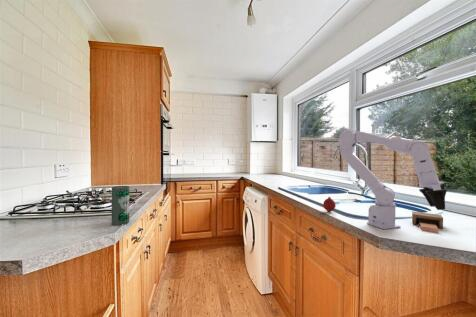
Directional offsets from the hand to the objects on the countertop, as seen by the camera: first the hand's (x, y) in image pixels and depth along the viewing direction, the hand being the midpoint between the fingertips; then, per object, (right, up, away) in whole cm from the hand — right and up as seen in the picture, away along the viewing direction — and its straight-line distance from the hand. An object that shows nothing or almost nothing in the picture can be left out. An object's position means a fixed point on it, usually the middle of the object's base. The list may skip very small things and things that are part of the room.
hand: (437, 207), depth 81 cm
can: (-123, -9, +9) cm, 124 cm away
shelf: (+6, -10, +12) cm, 16 cm away
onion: (-28, -9, +31) cm, 42 cm away
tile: (+2, -10, +6) cm, 12 cm away
